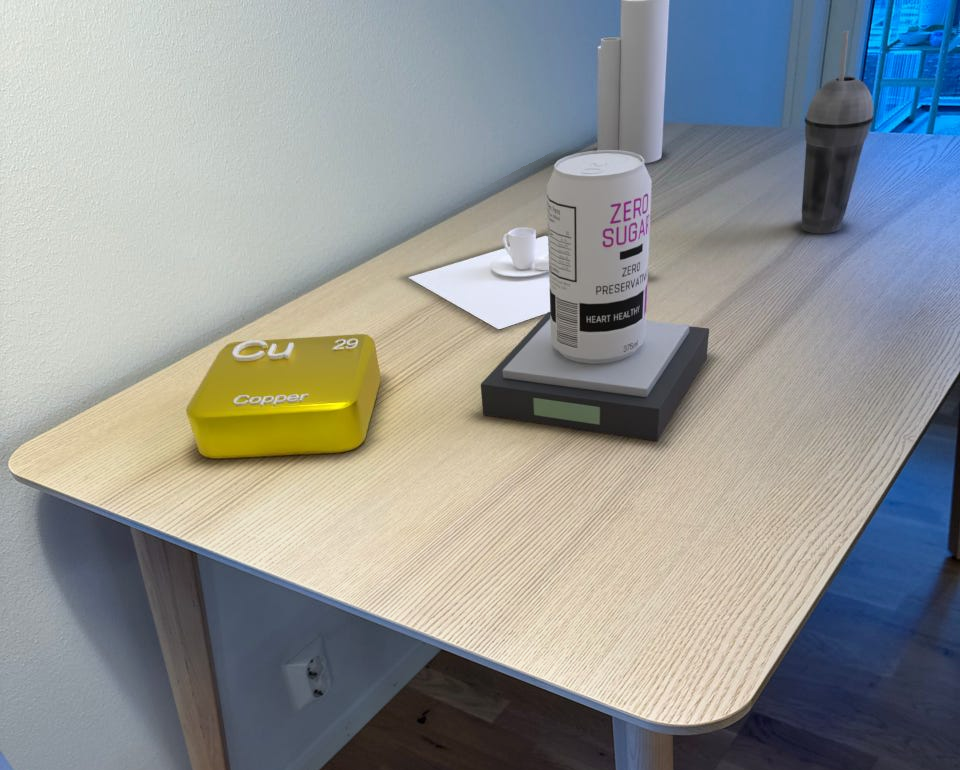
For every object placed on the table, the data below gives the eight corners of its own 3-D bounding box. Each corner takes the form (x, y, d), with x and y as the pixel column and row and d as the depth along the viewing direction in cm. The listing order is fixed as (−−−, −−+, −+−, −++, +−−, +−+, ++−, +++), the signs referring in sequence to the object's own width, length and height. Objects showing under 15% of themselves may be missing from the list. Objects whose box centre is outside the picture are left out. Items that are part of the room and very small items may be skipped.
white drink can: (570, 323, 85) (568, 146, 75) (656, 332, 82) (665, 149, 72) (537, 360, 79) (529, 175, 69) (627, 372, 76) (633, 180, 66)
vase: (670, 154, 136) (679, -8, 123) (644, 167, 133) (650, 1, 119) (607, 146, 142) (609, -8, 129) (581, 158, 138) (580, 0, 125)
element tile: (193, 461, 79) (176, 411, 76) (235, 382, 90) (222, 335, 87) (362, 453, 77) (353, 402, 74) (384, 373, 88) (376, 326, 85)
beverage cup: (866, 225, 108) (905, 25, 94) (825, 242, 105) (859, 38, 92) (816, 212, 112) (847, 20, 99) (776, 228, 110) (802, 32, 96)
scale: (706, 358, 85) (710, 319, 83) (656, 442, 75) (659, 400, 72) (549, 340, 91) (548, 303, 89) (482, 415, 81) (478, 375, 78)
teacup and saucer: (576, 269, 105) (575, 233, 102) (519, 288, 102) (517, 251, 99) (533, 250, 110) (531, 215, 108) (478, 267, 108) (475, 232, 105)
